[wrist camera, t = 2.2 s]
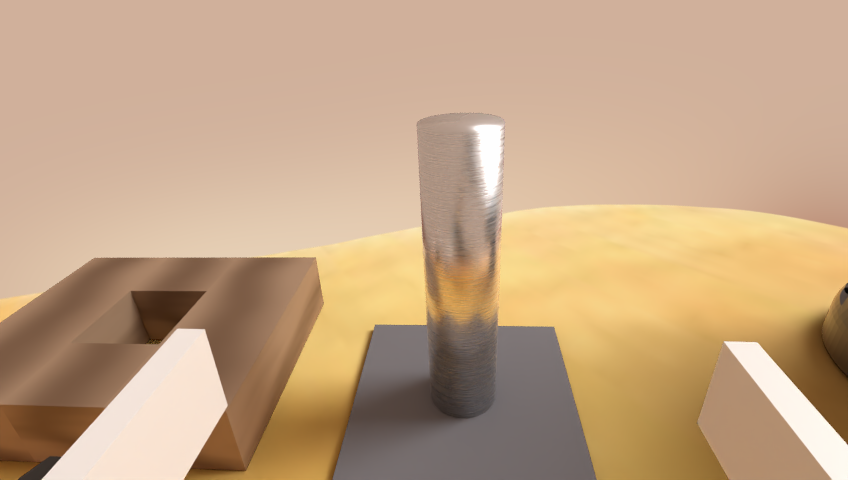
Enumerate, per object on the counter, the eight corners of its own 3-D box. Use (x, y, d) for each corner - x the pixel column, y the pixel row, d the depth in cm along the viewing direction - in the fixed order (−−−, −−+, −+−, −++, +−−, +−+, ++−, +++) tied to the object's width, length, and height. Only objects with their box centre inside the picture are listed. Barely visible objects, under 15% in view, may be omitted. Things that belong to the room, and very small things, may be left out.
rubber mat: (553, 331, 31) (553, 326, 30) (601, 506, 20) (602, 500, 20) (375, 329, 32) (375, 324, 31) (331, 494, 21) (329, 488, 21)
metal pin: (493, 370, 27) (501, 111, 20) (497, 419, 24) (508, 131, 17) (432, 369, 27) (420, 114, 21) (428, 417, 24) (412, 134, 17)
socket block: (323, 303, 35) (315, 257, 33) (245, 470, 22) (225, 411, 20) (113, 301, 36) (94, 257, 34) (-70, 457, 24) (-114, 401, 22)
